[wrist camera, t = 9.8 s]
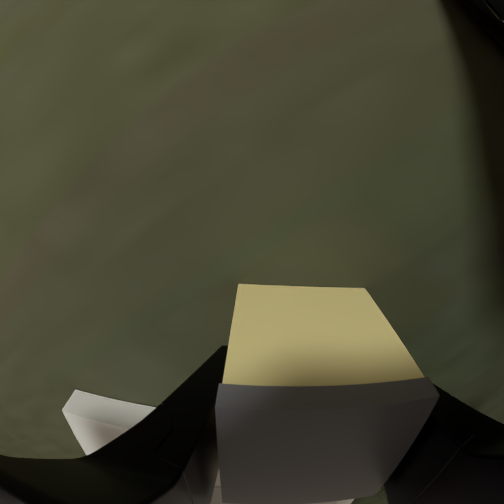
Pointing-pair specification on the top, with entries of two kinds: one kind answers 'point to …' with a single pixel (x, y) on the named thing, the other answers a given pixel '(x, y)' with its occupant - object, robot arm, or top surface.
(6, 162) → the top surface
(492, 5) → the supplement container
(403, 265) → the top surface
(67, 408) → the panel
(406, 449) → the block
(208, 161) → the top surface
